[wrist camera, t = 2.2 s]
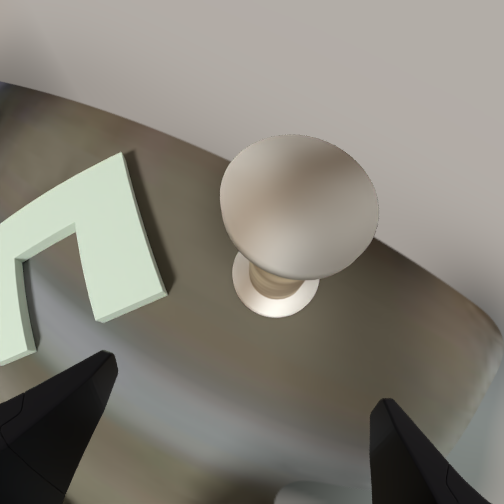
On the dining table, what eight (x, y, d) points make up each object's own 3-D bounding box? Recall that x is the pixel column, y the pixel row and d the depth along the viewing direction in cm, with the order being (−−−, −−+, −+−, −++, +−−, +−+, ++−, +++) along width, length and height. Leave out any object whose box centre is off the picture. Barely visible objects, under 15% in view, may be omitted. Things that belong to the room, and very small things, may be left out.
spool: (332, 270, 24) (400, 191, 12) (282, 335, 22) (324, 310, 10) (268, 222, 25) (284, 115, 13) (215, 280, 23) (185, 202, 11)
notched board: (167, 295, 23) (162, 291, 21) (2, 365, 19) (-6, 364, 18) (125, 160, 28) (121, 152, 26) (-10, 241, 24) (-17, 237, 23)
